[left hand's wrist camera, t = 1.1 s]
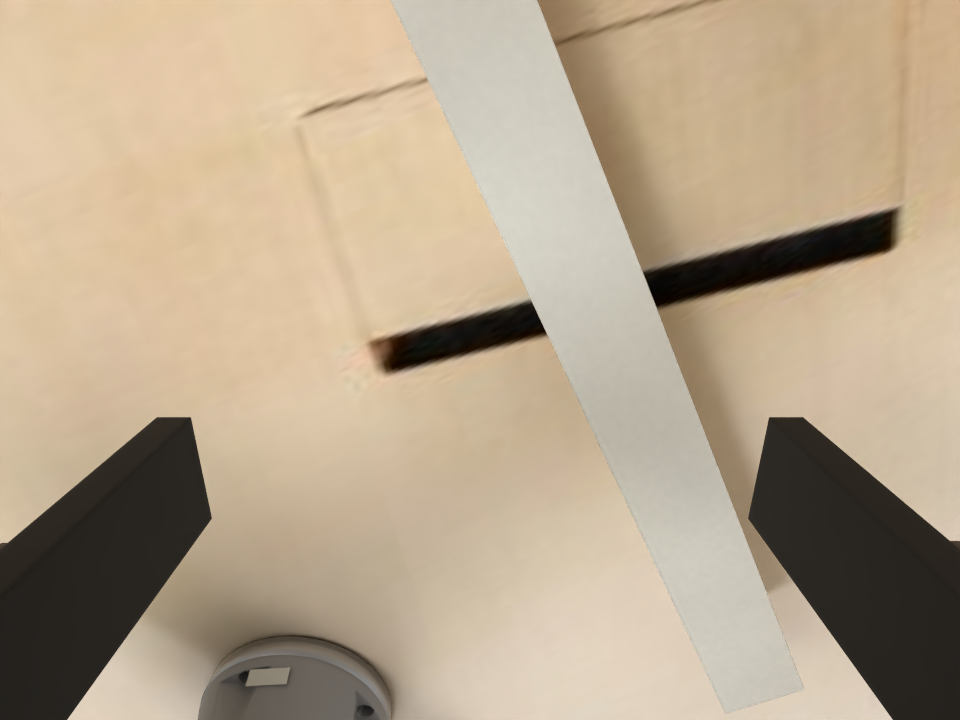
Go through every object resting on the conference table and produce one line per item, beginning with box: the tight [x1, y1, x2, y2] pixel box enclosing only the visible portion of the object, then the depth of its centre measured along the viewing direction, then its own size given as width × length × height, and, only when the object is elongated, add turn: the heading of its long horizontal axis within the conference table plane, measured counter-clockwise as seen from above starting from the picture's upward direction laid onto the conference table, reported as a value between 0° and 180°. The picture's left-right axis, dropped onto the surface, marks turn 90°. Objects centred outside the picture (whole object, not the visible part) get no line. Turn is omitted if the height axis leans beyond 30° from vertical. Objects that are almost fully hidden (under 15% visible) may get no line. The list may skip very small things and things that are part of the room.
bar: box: [391, 0, 804, 714], centre depth 29 cm, size 68×5×7 cm, turn 26°
